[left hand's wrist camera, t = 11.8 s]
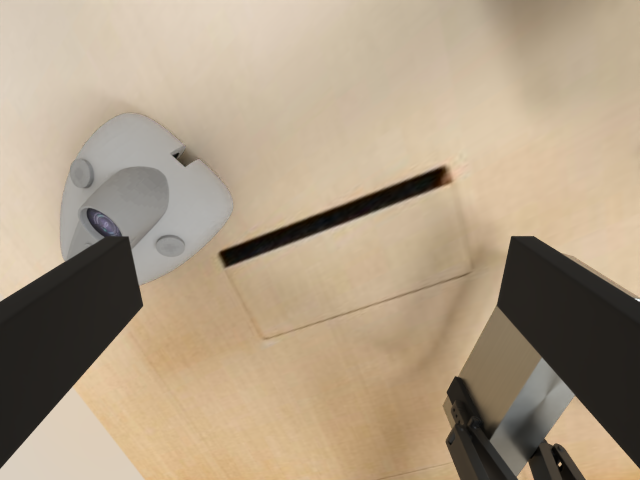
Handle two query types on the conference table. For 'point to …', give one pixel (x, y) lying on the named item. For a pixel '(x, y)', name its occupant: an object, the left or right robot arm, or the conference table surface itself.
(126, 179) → the projector
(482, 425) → the bar
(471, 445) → the right robot arm
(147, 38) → the conference table surface
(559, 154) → the conference table surface
